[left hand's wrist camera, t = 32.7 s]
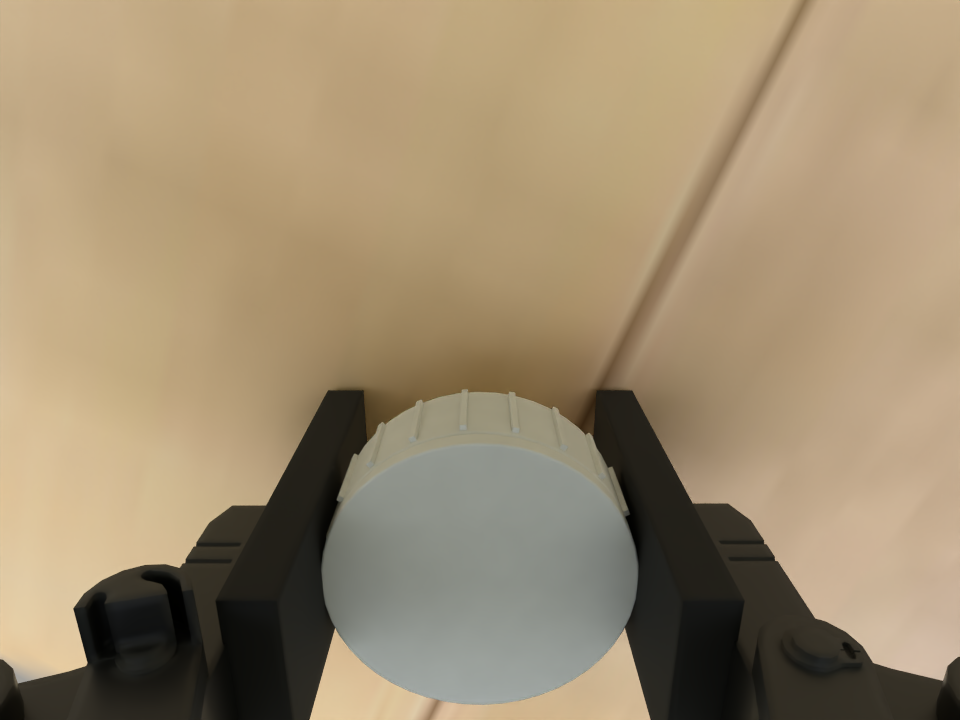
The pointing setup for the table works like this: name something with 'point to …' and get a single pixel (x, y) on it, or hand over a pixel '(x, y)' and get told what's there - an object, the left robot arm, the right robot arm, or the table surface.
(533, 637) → the lid
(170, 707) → the left robot arm
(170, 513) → the table surface
